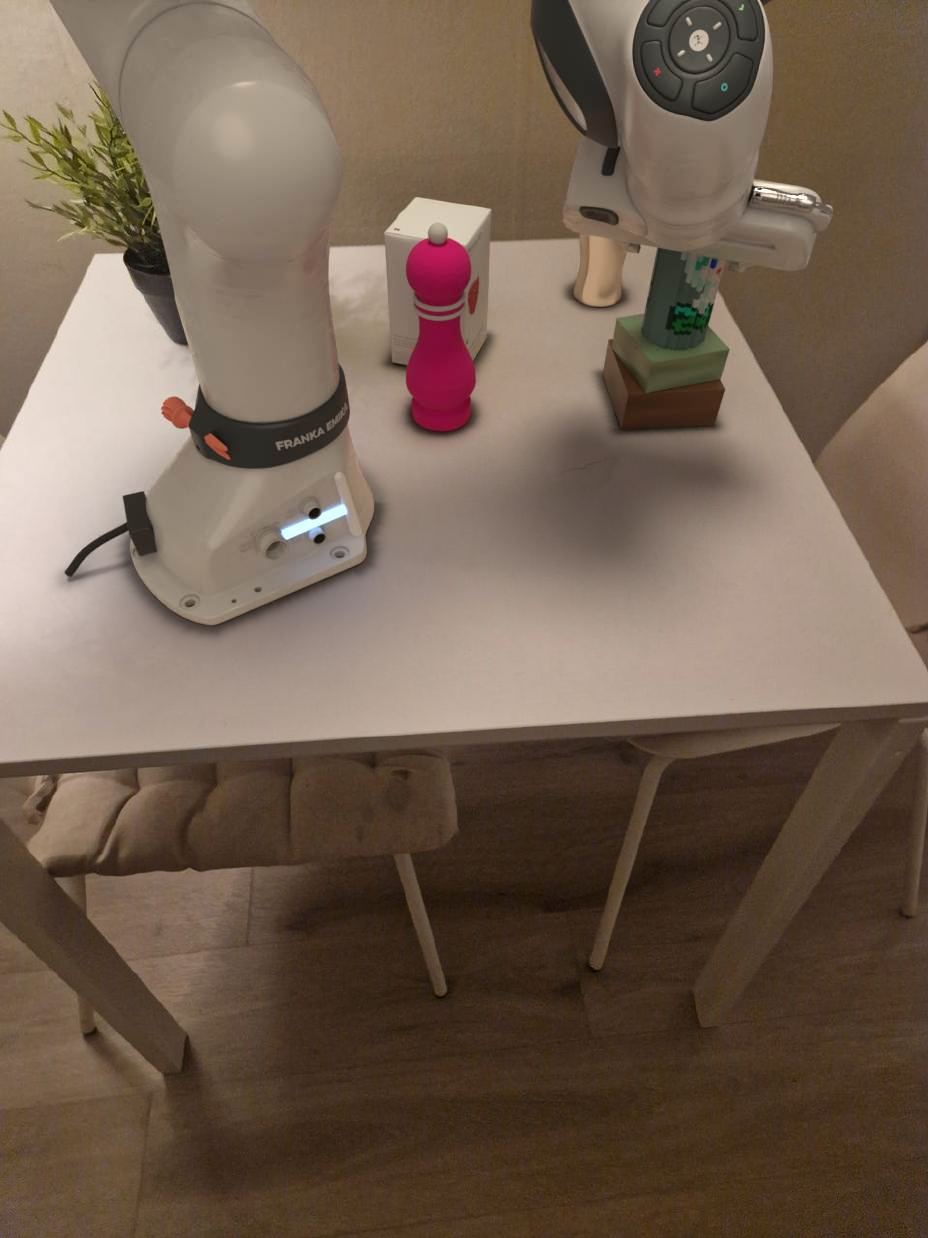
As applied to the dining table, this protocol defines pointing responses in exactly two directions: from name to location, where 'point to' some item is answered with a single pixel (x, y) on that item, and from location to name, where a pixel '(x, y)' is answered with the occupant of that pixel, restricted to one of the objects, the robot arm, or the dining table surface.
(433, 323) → the pepper mill
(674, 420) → the block stack
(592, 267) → the beer glass
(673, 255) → the can
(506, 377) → the dining table surface
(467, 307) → the white product box
